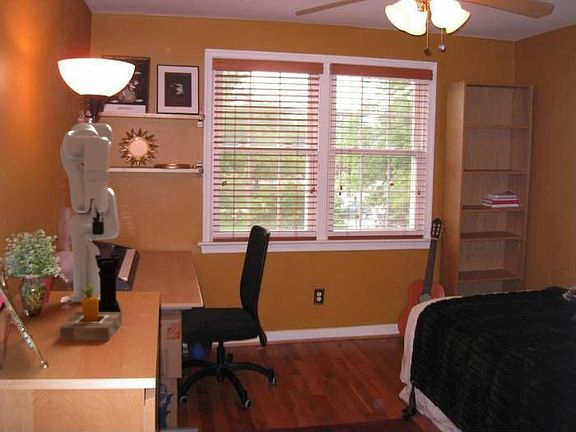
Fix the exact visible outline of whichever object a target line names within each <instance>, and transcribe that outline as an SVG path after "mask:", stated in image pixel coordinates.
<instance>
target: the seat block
mask: <svg viewBox="0 0 576 432" xmlns="http://www.w3.org/2000/svg"><path fill="white" fill-rule="evenodd" d="M121 313H122V311H121V312H98V319H97V322H85V320H84V316H83V311H76V312H75V314H74V315H72V316H71V317H70V318H69V319H68V320H67V321H66V322H64V323H63V324H62V325H61V326H60V329H59V330H60V333H59V334H60V341H70V342H71V341H72V342H73V341H89V342H90V341H94V342H95V341H103V342H105V341H106V342H107V341H110V340H111V338H112V337H113V336H114V335H115V334H116V332H117V331H118V330H119V329H120V327H121V326H122V325H123V323H122V322H123V321H122V320H123V319H122V317H123V315H122V316H121Z"/></svg>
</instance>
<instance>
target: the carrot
mask: <svg viewBox="0 0 576 432" xmlns="http://www.w3.org/2000/svg"><path fill="white" fill-rule="evenodd" d="M87 286H88V288H87V291H85V290H84V289H81V291H83V292H84V293H85V294H86V295H87V296H85V297H84V298H83V299H82V303H81V310H82V311H81V312H83V316H84V320H85V322H97V319H98V297H96V296H93V295H92V292H93V289H94V287H93V286H92V287H91V285H90V284H87Z"/></svg>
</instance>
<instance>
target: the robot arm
mask: <svg viewBox="0 0 576 432" xmlns="http://www.w3.org/2000/svg"><path fill="white" fill-rule="evenodd" d="M113 143H114V134H113V130H112V127H111V126H110V125H109V124H108V123H103V122H102V123H101V122H100V123H98V122H80V123H79V122H78V123H77V124H75V125H73V126H72V128H71V129H70V131H67V132H66V133H65V134H64V136H63V139H62V144H61V145H60V147H59V150H60V151H59V154H60V161H61V164H62V166H63V170H64V171H65V173H66V175H67V177H68V182H69V184H68V185H69V191H70V204H71V207H72V210H73V211H74V212H76V213H80V214H76V215H74V216H72V217H71V218H70V220H69V222H68V228H69V234H70V239H71V249H72V275H73V278H72V280H73V281H72V282H73V283H72V285H73V294H71V295H69V297H68V298H69V301H70V302H72V303H75V304H76V303H77V304H79V303H80V304H82V299H83V298H84V297H85V296H87V295H86V294H85V293H84V292H83V291H81V289H84V290H85V291H87V288H88V286H87V284H90V285H91V287H92V286H93V287H94V289H93V292H92V295H93V296H96V297H98V301H100V277H99V274H98V272H99V271H100V269H99V268H98V266H97V261H96V259H95V255H100V256H101V253H100V249H99V247H98V246H97V245H95V244H94V243H93V241H96V240H110V239H111V240H112V239H115V238H117V237H118V236H119V234H120V222H119V215H118V214H119V213H118V205H117V198H116V194H115V192H114V190H113V189H112V188H111V187H108V182H110V181H111V180H110V157H111V153H112V146H113ZM82 164H83V165H82Z"/></svg>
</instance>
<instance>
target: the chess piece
mask: <svg viewBox="0 0 576 432" xmlns="http://www.w3.org/2000/svg"><path fill="white" fill-rule="evenodd" d="M95 259H96V261H97V266H98V268H99V269H100V271H99V272H98V274H99V277H100V301H98V312H121V316H122V317H123V312H122V311H121V307H120V303H119V300H118V299H117V280H116V279H117V277H118V273H117V271H116V269H117V268H118V267H119V262H120V256H118V254H117V253H112V255H111V257H103V258H102V257H101V254H100V255H95Z"/></svg>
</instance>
